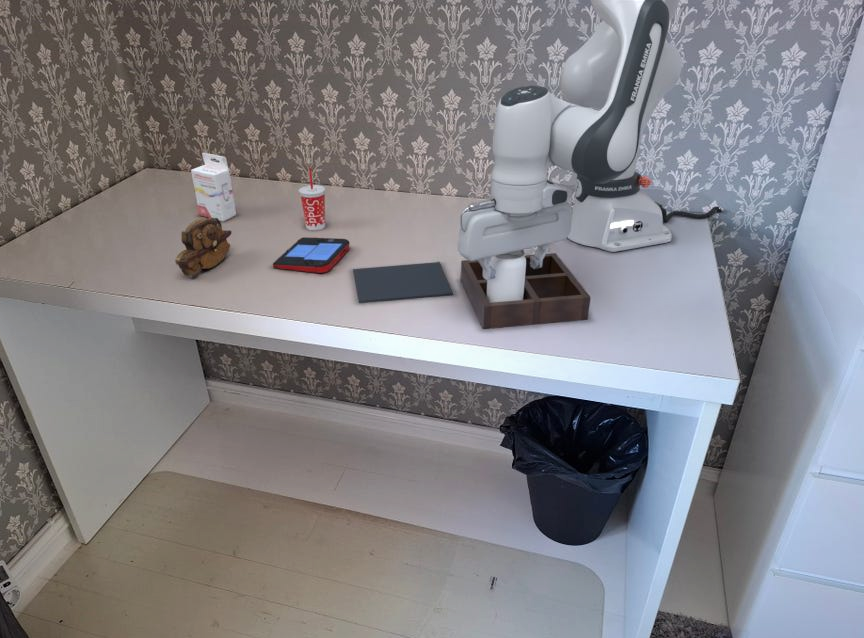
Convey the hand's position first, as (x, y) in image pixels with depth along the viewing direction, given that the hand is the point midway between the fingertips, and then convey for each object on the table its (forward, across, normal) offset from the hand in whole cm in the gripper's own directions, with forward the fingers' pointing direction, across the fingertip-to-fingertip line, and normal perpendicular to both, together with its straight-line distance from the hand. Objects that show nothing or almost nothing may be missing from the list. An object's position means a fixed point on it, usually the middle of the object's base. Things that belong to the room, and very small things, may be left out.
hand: (512, 272), depth 117 cm
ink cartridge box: (+8, -37, +76) cm, 85 cm away
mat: (+8, -12, +21) cm, 25 cm away
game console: (+8, -24, +40) cm, 47 cm away
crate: (+8, +5, +4) cm, 11 cm away
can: (+9, 0, +1) cm, 9 cm away
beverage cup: (+8, -18, +57) cm, 60 cm away
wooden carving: (+8, -45, +46) cm, 65 cm away
